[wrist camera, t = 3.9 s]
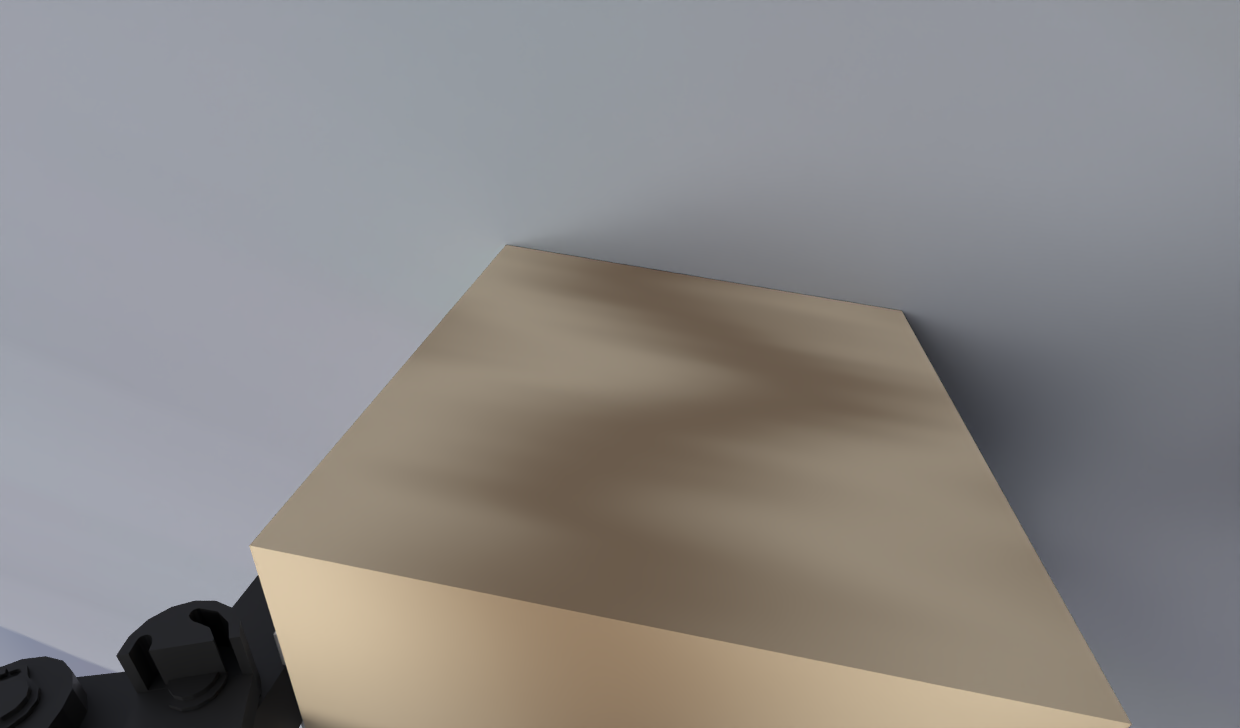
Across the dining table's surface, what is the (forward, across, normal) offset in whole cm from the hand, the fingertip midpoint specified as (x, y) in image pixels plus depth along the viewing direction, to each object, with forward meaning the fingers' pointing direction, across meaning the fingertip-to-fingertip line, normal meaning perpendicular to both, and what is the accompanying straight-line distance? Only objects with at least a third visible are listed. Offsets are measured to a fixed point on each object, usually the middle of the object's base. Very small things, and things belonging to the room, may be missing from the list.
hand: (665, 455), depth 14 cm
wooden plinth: (+1, 0, 0) cm, 1 cm away
